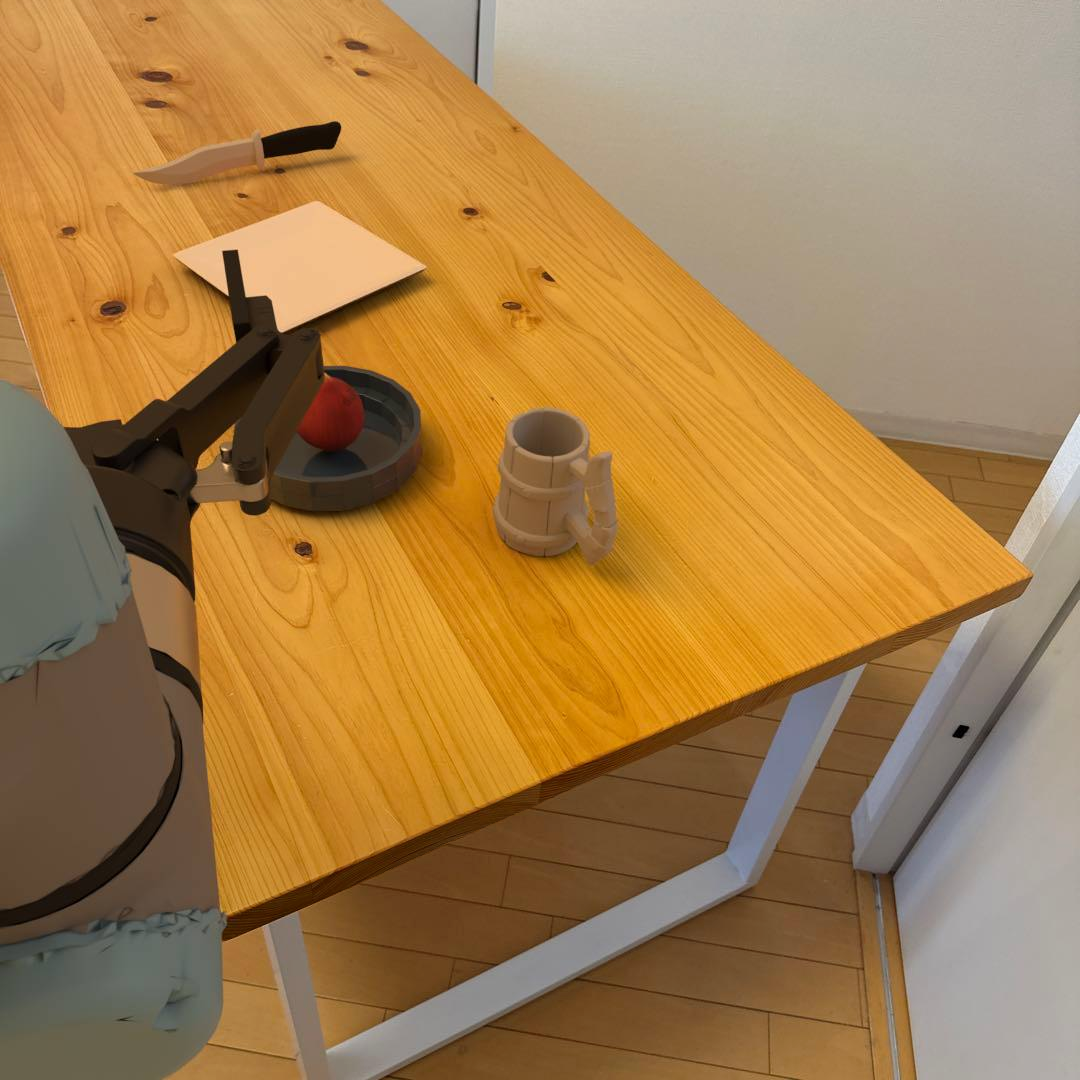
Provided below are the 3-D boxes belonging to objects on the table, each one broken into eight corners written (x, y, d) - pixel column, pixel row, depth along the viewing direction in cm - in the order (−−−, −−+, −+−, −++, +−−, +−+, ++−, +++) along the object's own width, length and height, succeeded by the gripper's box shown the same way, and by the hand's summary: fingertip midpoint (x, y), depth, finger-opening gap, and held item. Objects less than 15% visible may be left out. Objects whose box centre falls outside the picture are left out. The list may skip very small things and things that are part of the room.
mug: (544, 481, 86) (555, 366, 77) (640, 562, 80) (663, 447, 71) (473, 518, 82) (476, 401, 74) (568, 606, 76) (583, 490, 68)
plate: (282, 349, 97) (279, 331, 95) (174, 270, 105) (170, 252, 104) (428, 282, 107) (427, 265, 105) (319, 215, 115) (317, 198, 114)
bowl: (233, 521, 80) (225, 484, 77) (249, 403, 91) (243, 366, 88) (424, 515, 82) (423, 478, 79) (419, 400, 93) (418, 364, 90)
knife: (139, 195, 116) (129, 153, 112) (135, 188, 117) (125, 146, 113) (345, 161, 125) (342, 121, 121) (340, 155, 126) (337, 115, 122)
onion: (343, 419, 89) (336, 343, 83) (380, 454, 86) (375, 378, 80) (285, 444, 86) (273, 367, 80) (320, 481, 83) (311, 404, 77)
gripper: (-277, 747, 35) (-166, 380, 49) (436, 618, 41) (352, 325, 55) (-410, 604, 29) (-242, 239, 43) (434, 480, 35) (341, 195, 49)
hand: (89, 286), depth 49 cm, fingers open, 13 cm apart
